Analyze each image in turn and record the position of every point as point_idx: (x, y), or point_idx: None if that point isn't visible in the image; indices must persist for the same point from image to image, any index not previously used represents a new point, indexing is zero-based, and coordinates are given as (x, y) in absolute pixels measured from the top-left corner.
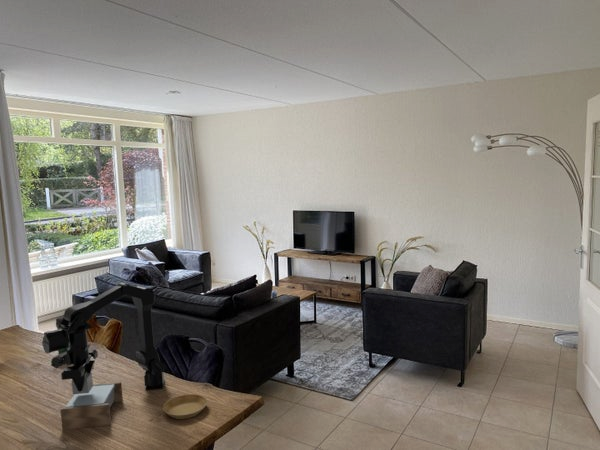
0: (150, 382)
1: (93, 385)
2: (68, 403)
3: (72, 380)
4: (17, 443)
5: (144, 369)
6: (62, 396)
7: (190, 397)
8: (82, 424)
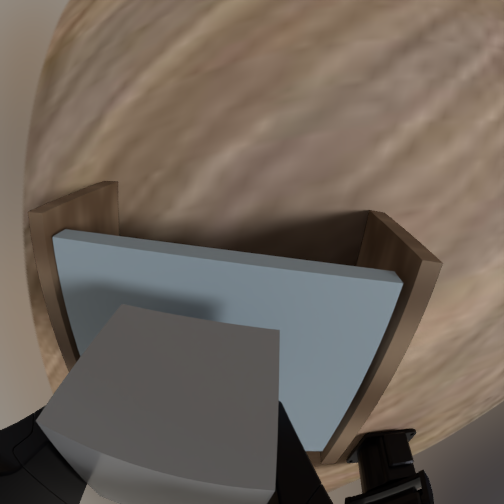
0: (367, 460)
1: (377, 372)
2: (92, 248)
3: (42, 426)
4: (58, 30)
5: (415, 475)
6: (498, 111)
7: None
8: None
